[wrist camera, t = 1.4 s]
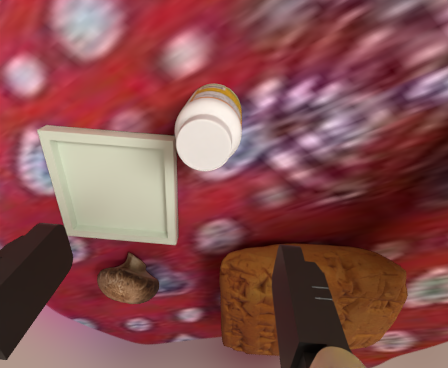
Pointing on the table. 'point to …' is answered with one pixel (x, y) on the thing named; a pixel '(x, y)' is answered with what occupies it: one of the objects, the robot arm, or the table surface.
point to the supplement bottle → (209, 127)
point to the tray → (114, 183)
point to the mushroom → (128, 282)
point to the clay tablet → (338, 285)
